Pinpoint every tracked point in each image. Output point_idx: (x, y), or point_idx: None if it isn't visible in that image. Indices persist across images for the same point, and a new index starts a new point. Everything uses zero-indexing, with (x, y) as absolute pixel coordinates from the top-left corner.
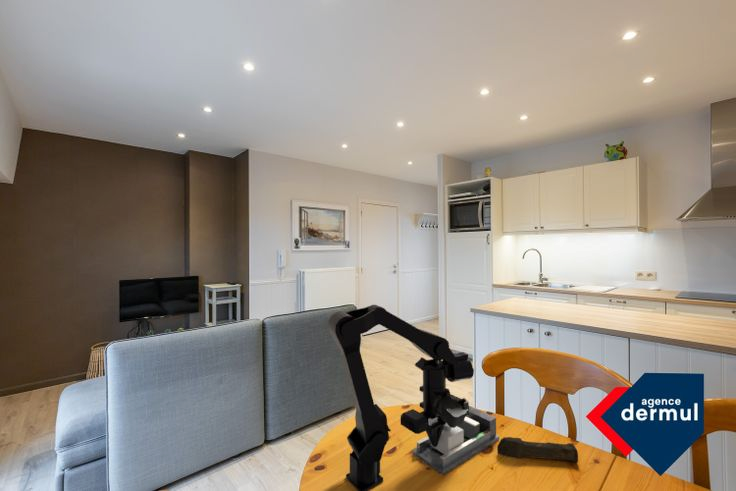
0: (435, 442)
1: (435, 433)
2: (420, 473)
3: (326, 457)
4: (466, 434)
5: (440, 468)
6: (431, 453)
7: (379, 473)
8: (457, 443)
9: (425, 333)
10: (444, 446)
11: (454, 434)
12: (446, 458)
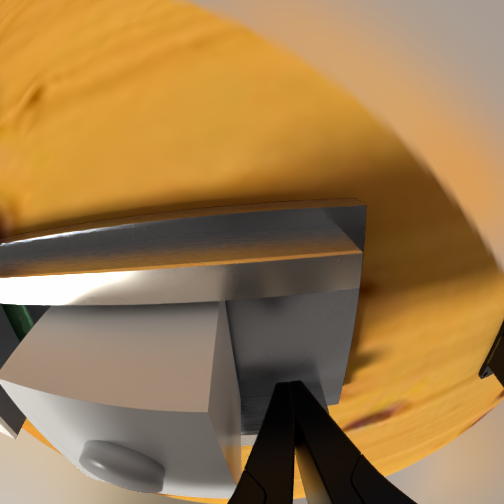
0: (314, 407)
1: (361, 482)
2: (421, 278)
3: (477, 415)
4: (12, 346)
5: (353, 233)
6: (279, 360)
7: (502, 335)
8: (95, 325)
9: None
10: (224, 357)
11: (95, 403)
12: (310, 251)
